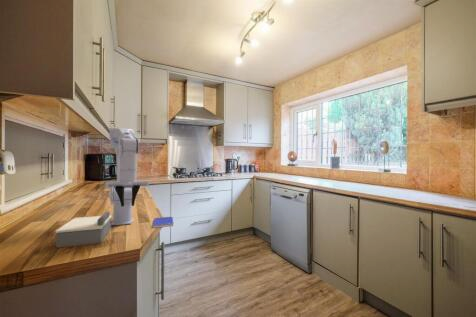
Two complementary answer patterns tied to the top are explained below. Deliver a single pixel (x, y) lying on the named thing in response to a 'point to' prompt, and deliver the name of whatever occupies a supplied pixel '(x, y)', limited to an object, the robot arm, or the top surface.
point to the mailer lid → (85, 223)
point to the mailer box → (82, 236)
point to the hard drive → (163, 222)
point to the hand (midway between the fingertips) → (127, 205)
